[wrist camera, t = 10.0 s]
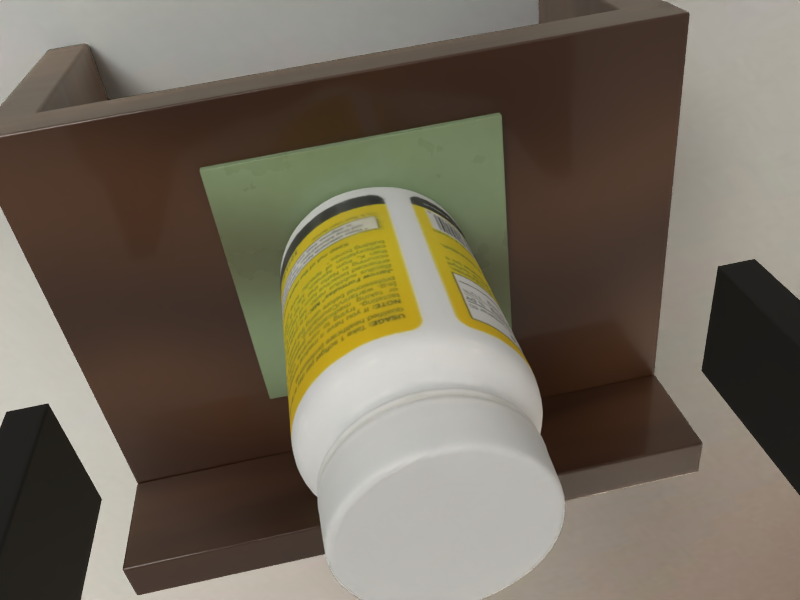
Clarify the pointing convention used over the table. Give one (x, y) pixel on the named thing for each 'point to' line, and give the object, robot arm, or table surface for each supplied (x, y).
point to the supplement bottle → (411, 404)
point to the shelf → (310, 187)
